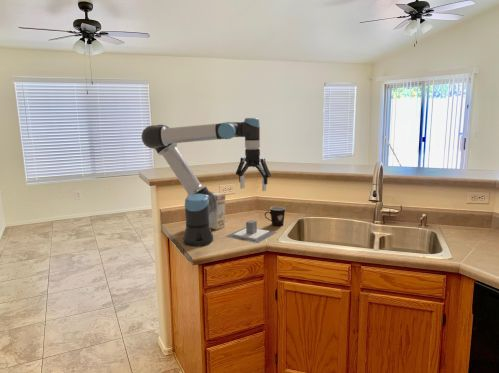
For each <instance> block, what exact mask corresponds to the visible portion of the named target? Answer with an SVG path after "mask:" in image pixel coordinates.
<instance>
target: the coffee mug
mask: <svg viewBox="0 0 499 373" xmlns="http://www.w3.org/2000/svg"><path fill="white" fill-rule="evenodd" d="M285 213H286V207H284V206H272V207H270V209H269V211H266V212H265V213H264V217H265V218H266V219H267V220H268V221H270V222H271V226H274V227H283V226H284V221H285ZM267 214H270V218H271V219H270V218H268V217H267Z"/></svg>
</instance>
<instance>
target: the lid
mask: <svg viewBox="0 0 499 373" xmlns="http://www.w3.org/2000/svg"><path fill="white" fill-rule="evenodd" d="M257 226H258V223H257V221H256V220H252V219H251V220H248V221H246V222H245V227H246V228H245V227H244V228H245V229H243V228H242V229H243V230H241V229H240V230H241V231H239V232H237V233H234V232H233V233H234V234H233V236H236V237H241V238H246V239H251V240H257V239H259V238H261V237H263V236H265V235H267V234H268V233H270V231H271V230H267V229H262V230H261V228H258V227H257ZM266 230H267V231H266Z"/></svg>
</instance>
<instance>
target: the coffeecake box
mask: <svg viewBox="0 0 499 373" xmlns="http://www.w3.org/2000/svg"><path fill="white" fill-rule="evenodd" d="M211 192H212V193H213V194H214V195H215V197H216V206H215V208H214V210H213V211H212V212H211V213H210V214H209V226H210V229H213V230H217V231H218V230H220V229H221V230H222V229H224V228H225V225H226V223H225V222H226V193H219V192H214V191H211Z"/></svg>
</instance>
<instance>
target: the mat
mask: <svg viewBox="0 0 499 373" xmlns="http://www.w3.org/2000/svg"><path fill="white" fill-rule="evenodd" d="M245 228H246V226H245V227H242V228H241V229H239V230H237V231H234V232H232V233H230V234H228V235H225V238H230V239H235V240H241V241H245V242H249V243H256V244H259V243H261V242H262V241H265V240H267V238H270V237H271V236H273V235H275V234H277V233H278V232H277V231H272V230H269V231H270V233H268V234H267V235H265V236H263V237H261V238H259V239H257V240H251V239H246V238H241V237H236V236H233V234H234V233H237V232H239V231H241V230H243V229H245ZM260 229H261V228H260ZM261 230H263V229H261ZM265 230H266V231H268V230H267V229H265Z"/></svg>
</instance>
